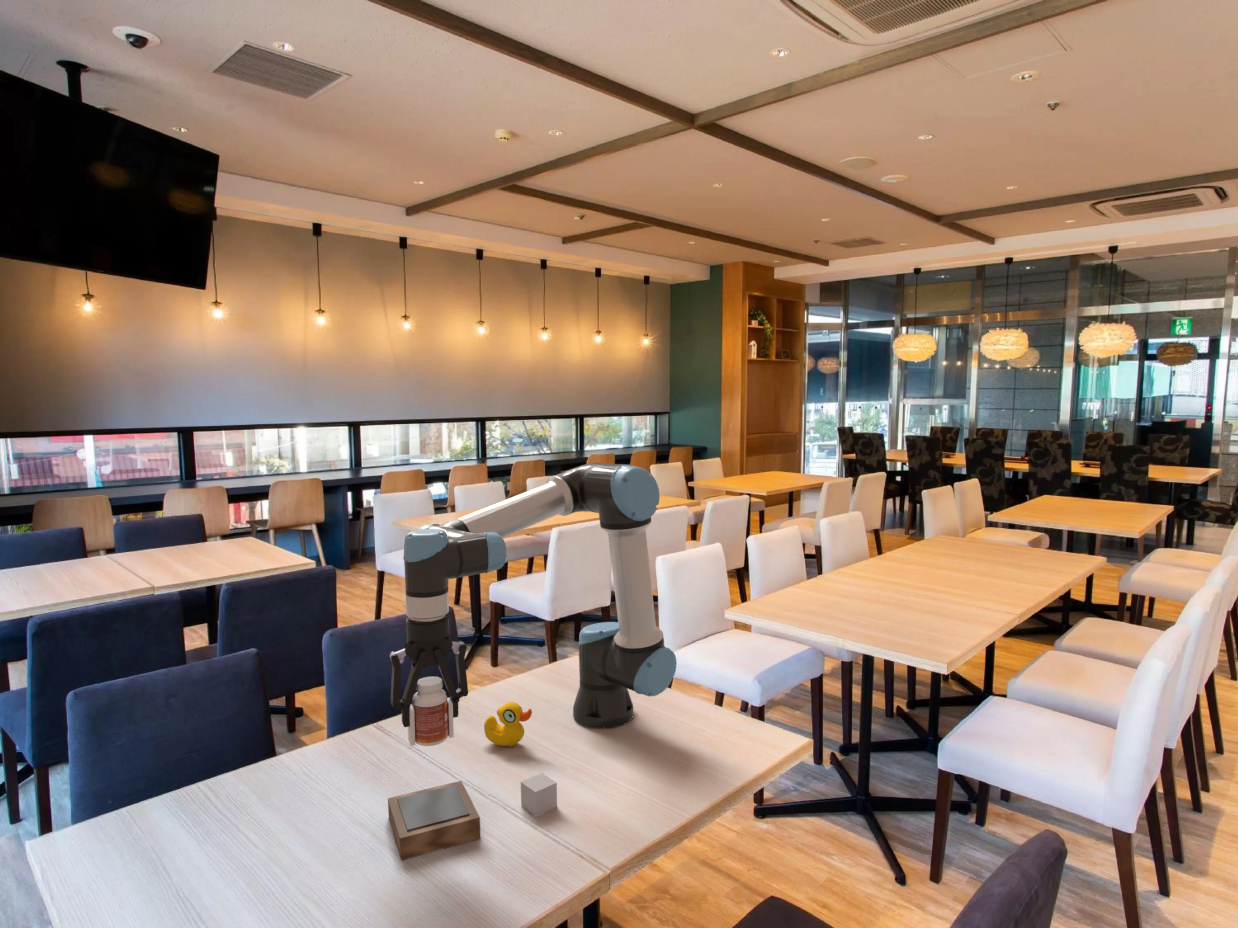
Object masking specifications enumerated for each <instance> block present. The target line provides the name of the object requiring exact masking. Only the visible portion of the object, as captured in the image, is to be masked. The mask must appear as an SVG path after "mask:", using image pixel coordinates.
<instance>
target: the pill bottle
mask: <svg viewBox="0 0 1238 928" xmlns="http://www.w3.org/2000/svg"><path fill="white" fill-rule="evenodd" d="M443 683H444V680H443V677H442V678H441V677H439V676H426V677H425V676H424V677H422V678H421V677H420V678H419V679H418V682H417V686H416V689H415V691H416V692H414V696H413V699H412V702H411V704H412V706H413V709H414V718H415V744H416V745H419V746H423V747H431V746H432V747H433V746H437V745H440V744H442V743H444V742H445V741H446V740H447V739H448V738H449V736H448V710H447V698H448V694H447V692H446V691H445V689H443V686H444V684H443Z"/></svg>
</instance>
